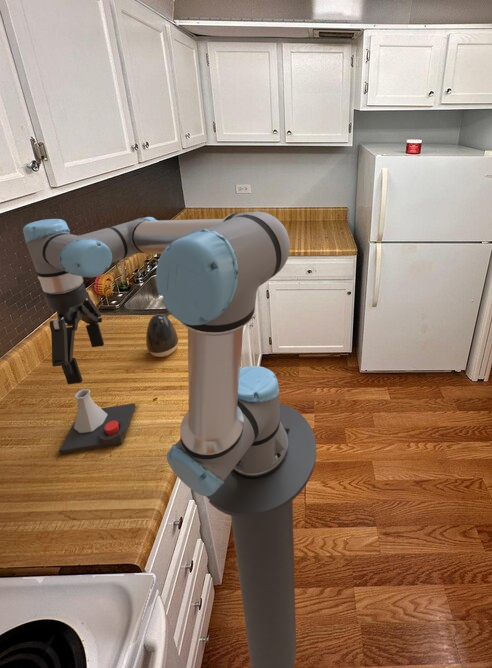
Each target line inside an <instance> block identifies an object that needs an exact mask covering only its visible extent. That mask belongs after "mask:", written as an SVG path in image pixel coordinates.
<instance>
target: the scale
mask: <svg viewBox="0 0 492 668" xmlns="http://www.w3.org/2000/svg"><path fill="white" fill-rule="evenodd" d="M100 408H101V409H102V410H103V411H104V412H106V413H107V414H108V415H107V417H106V419H105V421H104V422H103V424H102V425H100V426H99V427H98V428H96V429H95V430H94V431H92V432H85V433H79V432H78V431H77V430H76V429H74V425H75V421H76V419H75V421H74V423H73V424H72V426H71V428H70V429H69V431H68V434H67V435H66V437H65V439H64V440H63V442H62V444H61V446H60V448H59V450H58V452H59V455H66V454H72V453H79V452H84V451H90V450H96V449H97V450H98V449H103V448H109V447H113V446H114V447H115V446H120V445H123V443H124V440H125V438H126V435H127V432H128V430H129V427H130V424H131V421H132V418H133V417H134V413H135V410H136V403H135V402H134V403H127V404H121V405H113V406H106V407H100ZM111 421H117V422H118V425H119V430H118V431H117V432H116V433H115V434H113V435H107V434H106V432H105V429H104V428H105V426H106V424H107V423H109V422H111Z"/></svg>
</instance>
